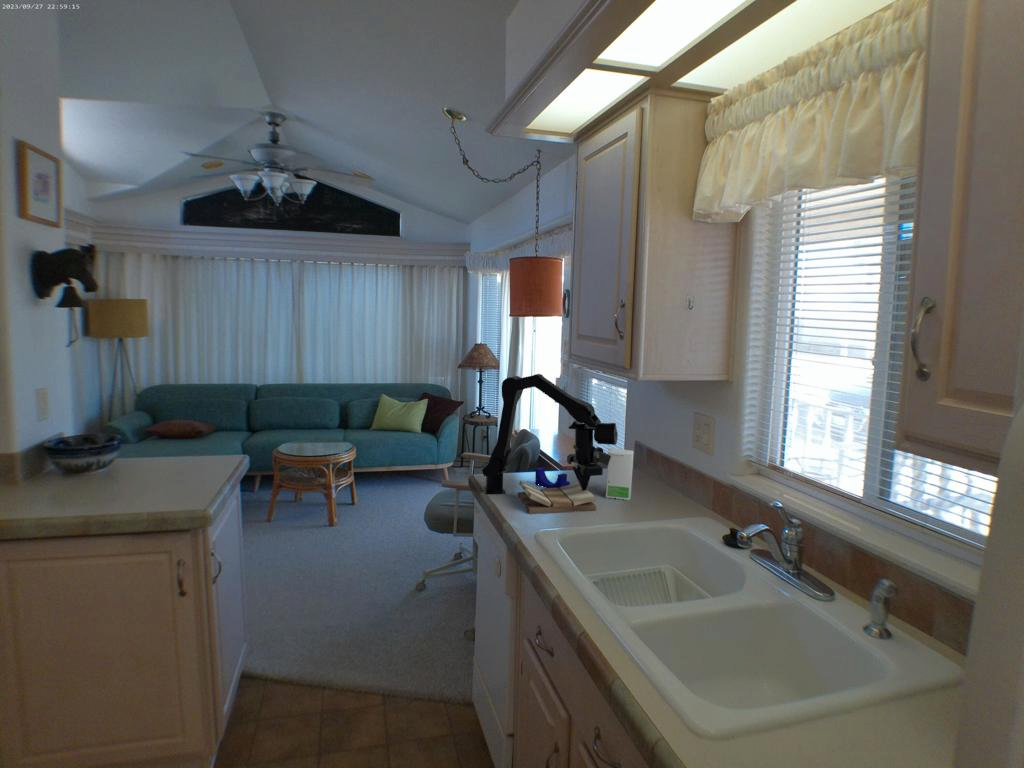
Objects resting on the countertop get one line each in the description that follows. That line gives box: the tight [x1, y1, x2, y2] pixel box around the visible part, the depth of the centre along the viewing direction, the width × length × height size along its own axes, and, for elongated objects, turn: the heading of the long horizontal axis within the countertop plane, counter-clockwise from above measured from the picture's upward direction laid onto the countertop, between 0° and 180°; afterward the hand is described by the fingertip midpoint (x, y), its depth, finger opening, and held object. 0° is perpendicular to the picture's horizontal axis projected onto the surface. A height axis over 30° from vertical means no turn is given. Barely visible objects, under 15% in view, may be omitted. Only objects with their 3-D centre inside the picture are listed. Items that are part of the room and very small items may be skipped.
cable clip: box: [534, 467, 571, 488], centre depth 211 cm, size 12×4×6 cm, turn 44°
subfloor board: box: [516, 491, 597, 515], centre depth 193 cm, size 18×21×2 cm
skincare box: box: [605, 447, 634, 501], centre depth 200 cm, size 8×7×16 cm
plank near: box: [518, 480, 551, 507], centre depth 191 cm, size 16×7×1 cm, turn 11°
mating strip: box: [539, 487, 572, 507], centre depth 193 cm, size 16×6×1 cm, turn 11°
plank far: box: [559, 482, 596, 506], centre depth 194 cm, size 16×7×1 cm, turn 11°
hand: (584, 490), depth 194 cm, fingers closed, pressing on plank far
